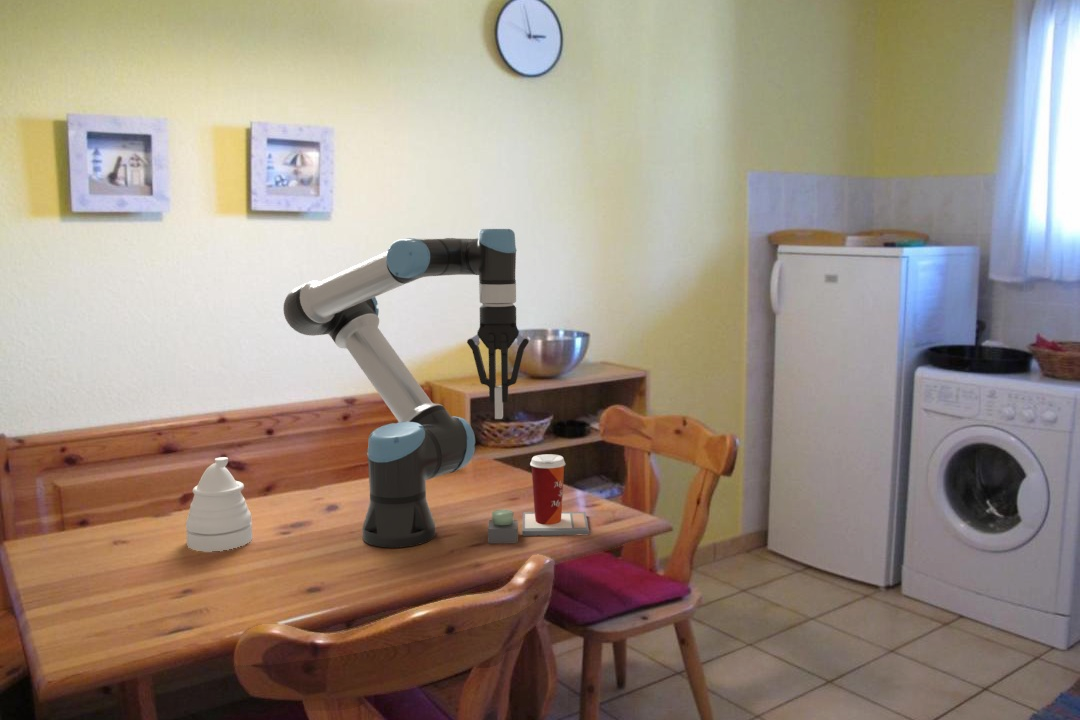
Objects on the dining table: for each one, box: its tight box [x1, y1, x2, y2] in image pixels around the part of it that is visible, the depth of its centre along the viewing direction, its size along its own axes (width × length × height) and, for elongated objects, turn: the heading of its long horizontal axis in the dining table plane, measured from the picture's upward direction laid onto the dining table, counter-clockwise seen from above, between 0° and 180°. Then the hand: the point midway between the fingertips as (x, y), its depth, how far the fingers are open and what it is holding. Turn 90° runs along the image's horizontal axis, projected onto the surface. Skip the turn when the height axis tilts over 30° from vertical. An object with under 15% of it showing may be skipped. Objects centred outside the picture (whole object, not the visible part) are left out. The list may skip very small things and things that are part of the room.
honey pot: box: [185, 456, 253, 553], centre depth 187 cm, size 13×13×18 cm
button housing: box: [487, 519, 519, 544], centre depth 188 cm, size 6×6×3 cm
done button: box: [491, 509, 515, 525], centre depth 188 cm, size 4×4×2 cm
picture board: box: [521, 511, 590, 537], centre depth 196 cm, size 14×13×1 cm
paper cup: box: [529, 453, 567, 525], centre depth 196 cm, size 8×8×14 cm
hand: (499, 417), depth 188 cm, fingers closed
